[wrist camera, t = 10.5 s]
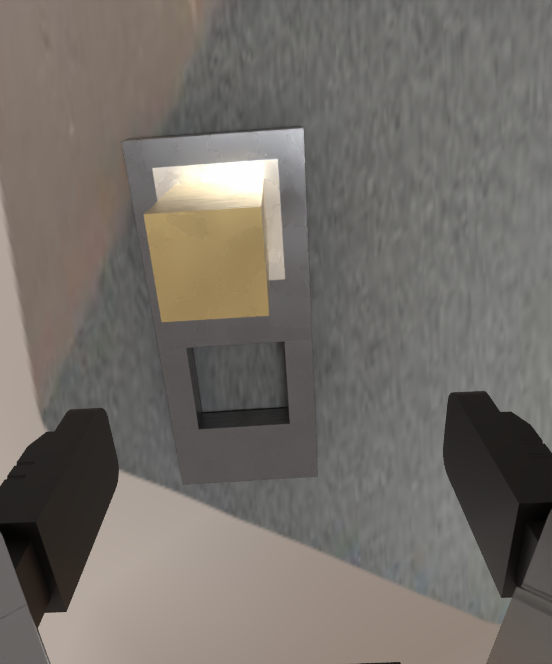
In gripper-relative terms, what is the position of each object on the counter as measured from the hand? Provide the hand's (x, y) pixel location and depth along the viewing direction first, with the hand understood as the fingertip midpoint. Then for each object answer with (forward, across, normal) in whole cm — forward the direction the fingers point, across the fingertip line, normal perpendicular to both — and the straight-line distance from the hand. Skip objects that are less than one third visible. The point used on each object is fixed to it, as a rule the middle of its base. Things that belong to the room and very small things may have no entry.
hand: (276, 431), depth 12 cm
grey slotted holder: (+22, +3, +7) cm, 23 cm away
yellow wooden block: (+20, +3, 0) cm, 20 cm away
